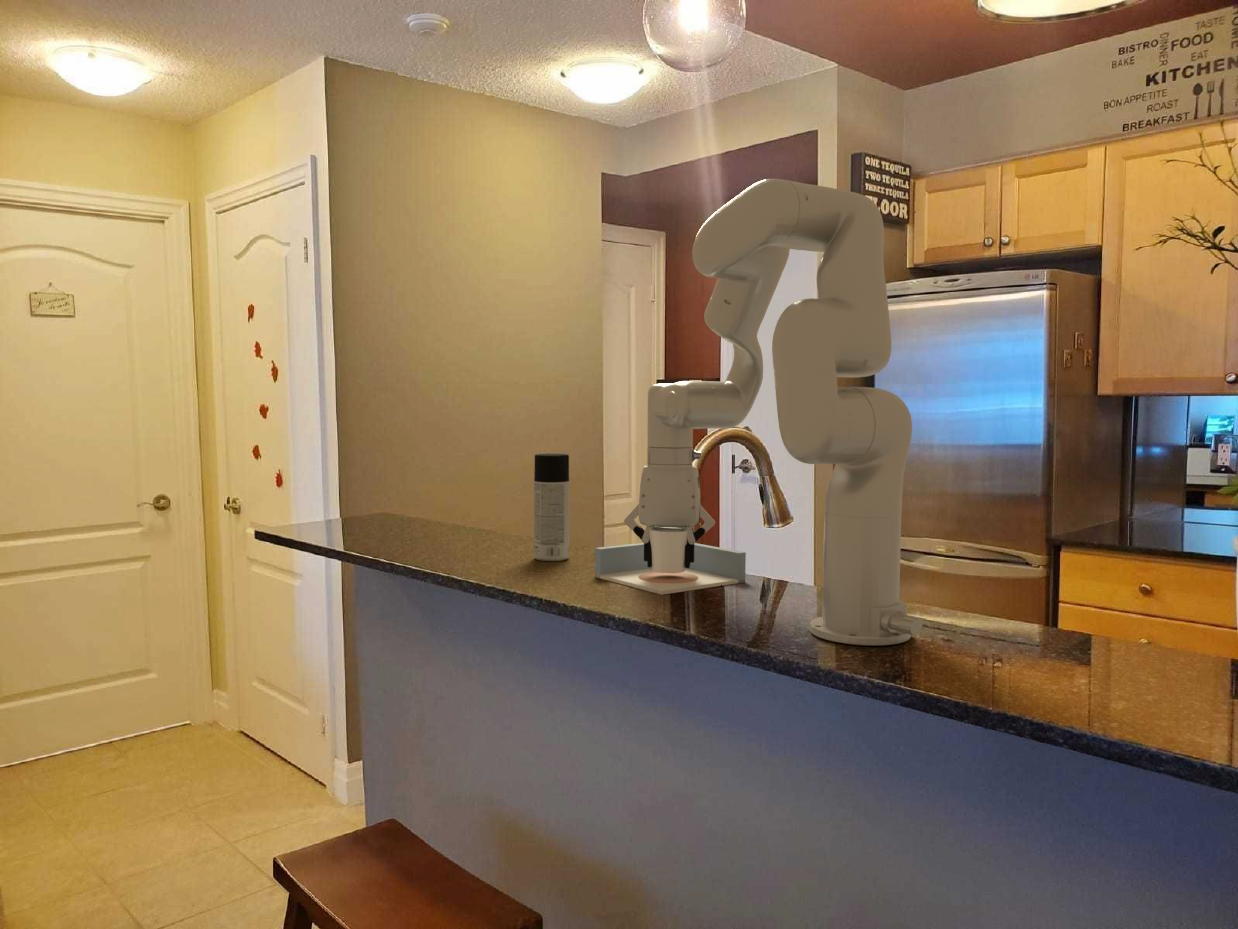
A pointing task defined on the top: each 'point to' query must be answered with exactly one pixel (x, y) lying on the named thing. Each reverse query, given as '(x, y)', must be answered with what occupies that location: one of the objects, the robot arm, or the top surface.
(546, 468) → the spray can
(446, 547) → the top surface
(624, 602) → the top surface
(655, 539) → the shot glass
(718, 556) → the arena
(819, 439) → the robot arm
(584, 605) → the top surface
